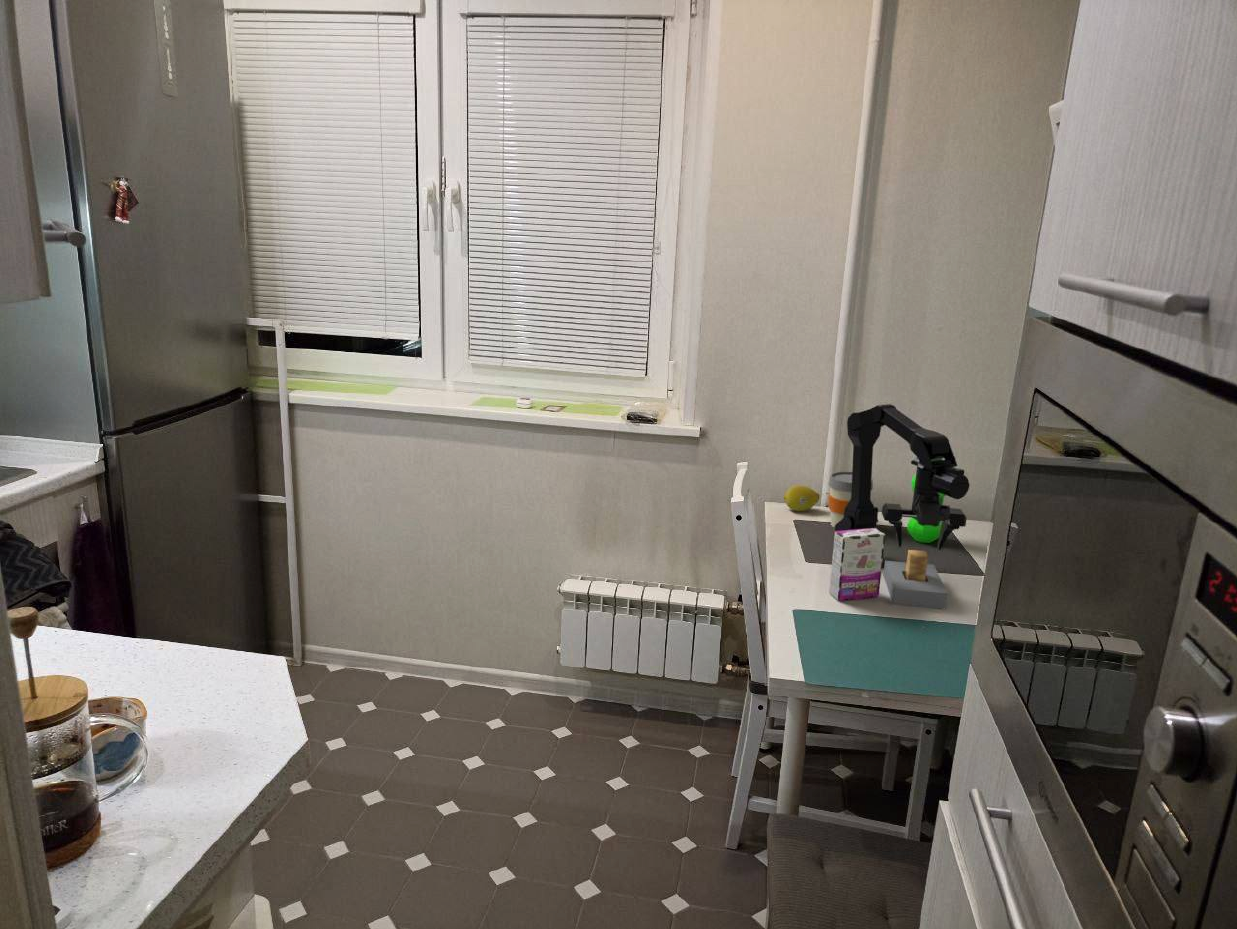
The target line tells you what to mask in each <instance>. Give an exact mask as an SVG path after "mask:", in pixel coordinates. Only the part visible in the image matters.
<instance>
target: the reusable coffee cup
mask: <svg viewBox="0 0 1237 929" xmlns="http://www.w3.org/2000/svg"><path fill="white" fill-rule="evenodd" d="M829 476H830V477H829V481H828V486H829V492H828V508H829V510H830V525H831V527H833V528H834V529H835V525H836V524H837V523H838V522H839V521H841V520H842V519H843V516H844V510H845V507H846V506H847V504H848V503H849V501H850V500H851V490H852V471H835V472H832V473H830V475H829ZM873 483H874V480H873V478H872V480H871V491H873V485H874V484H873Z"/></svg>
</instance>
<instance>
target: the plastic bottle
mask: <svg viewBox="0 0 1237 929" xmlns="http://www.w3.org/2000/svg"><path fill="white" fill-rule="evenodd" d="M938 460H943V459H934V460H931V461H938ZM915 479H916V473H915V474H914V476H913V477H912V479H911V485H910V486H911V490H912V491H913V492H914V487H915ZM946 496H947V495H944V494H942V493H939V504H940V505H944V499H945V497H946ZM941 524H942V521H940V523H939V526H936V527H935V526H931V525H925V526H922V525H919V524H918V519H917V518H912V517H910V519H909V520H908V523H907V525H906V529H907V532H908V533H909V534H908V535H910V536H911V537H912V538H913V540H915V541H916V542H919V543H922V544H923V543H924V544H929V543H933V542H934V541H936V540H939V535H940V530H941Z"/></svg>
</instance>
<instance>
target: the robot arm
mask: <svg viewBox="0 0 1237 929" xmlns="http://www.w3.org/2000/svg"><path fill="white" fill-rule="evenodd" d="M846 426H847V437H848V439H849V440H850V441H851V443H852V445H853V448H852V450H853V452H852V471H851V472H852V490H851V500H850V501H849V503H848V504H847V506H846V507H845V510H844V516H843V519H842V520H841V521H839V522H838V523H837V524H836V525H835V528H834V532H835V531H844V530H856V529H869V528H877V523H879V519H878V516H879V508H878V507H877V506H875V505H874V503H873V501H872V498H871V495H872V490H871V480H872V479H873V475H872V474H873V459H874V458H873V457H874V456H873V454H874V446H875V444H876V442H877V441H878V440H879V438H880V435H881V432H882V428H883V427H884V426H886V427H887V428H888V429H889V430H891V431H893V432H894V433H895V434H896V435H898V436H899V437H900V438H901V439H903V440H904V441H905V442H907V443H908V444H909V449H910V451H911V452H912V453H913V454H914V455H915V457H916V458H914V459H913V460H911V461H910V464H911V465H914V466H916V472H915V474H916V479H915V487H914V491H913V497H912V503H911V509H908V508H902V506H901V505H900V504H899V503H886V502H885V503H884V504H883V505H882V506H881V507H882V508H881V515H882V518H883V520H884V521H888V523H889V525H893V527H894V530H895V531H894V532H895V535H896V536H895V537H896V539H897V545H898V548H902V543H903V542H902V541H903V540H902V538H903V535H902V534H903V532H902V531H903V528H902V527H903V525H904V524H903V522H902V519H903V518H911V517H912V518H917V519H918V524H919V525H922V526H925V525H931V526H935V527H936V526H939V523H940V521H942V524H941V530H940V535H939V538H938V539H937V540H938V541H937V550H938V551H941V550H942V548H943V546H944V544H945V542H946V541H947V539H948V537H949V536H950V534H951V533H952V532H953V531H954V530H959V529H960V527H964V528H965V527H966V525H967V515H966V514H965V513H964V511H963V510H962V509H961V508H955V507H950V505H945V504H943V505H940V504H939V493H942V494H944V495H946V496H947V497H949V498H952V499H955V500H960V499H962V498H964V497H965V496H966V495H967V493H968V492H969V490H970V486H971V485H970V481H969V479H968V477H967V476H966V475H965V470H964V469H962V468H957V466H958V463H957V461H956V456H955V455H954V452H953V450H952V446H951V443H950V440H949V438H948V437H947V436H946V435H944V434H943V433H940V432H938V431H935V430H930V429H926V428H924V427H922V426H921V425H919V424H918V423H916V422H915V421H913V419H911V418H910V417H908V416H907V415H906V414H904V413H902V412H901V411H900V410H899V409H897V408H896V406H895V405H893V404H889V403H888V404H877V405H876V406H873V407H871V408H869V409H865V410H862V411H860V412H852V413H850V415H849V416H848V417H847V421H846ZM934 459H942V460H938V461H931V460H934Z"/></svg>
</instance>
